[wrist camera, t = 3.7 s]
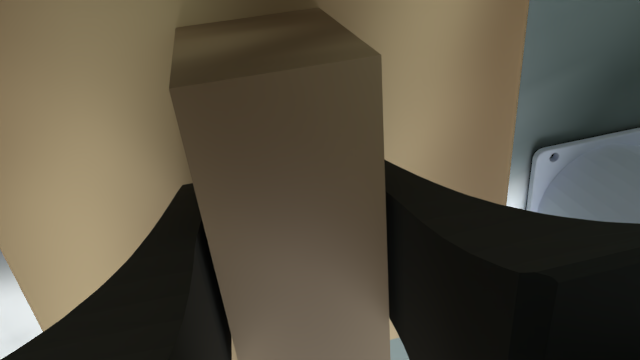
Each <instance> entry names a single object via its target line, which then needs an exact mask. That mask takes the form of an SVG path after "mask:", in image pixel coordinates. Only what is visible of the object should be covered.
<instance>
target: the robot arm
mask: <svg viewBox="0 0 640 360" xmlns="http://www.w3.org/2000/svg"><path fill="white" fill-rule="evenodd" d="M552 154H554V155H553V156H552V158H550V156H551V155H552ZM384 161H385V194H386V227H387V260H388V293H389V318H390V320H391V322H392V324H393V326H394V327H395V329H396V331H397V333H398V335H399V337H400V339H401V341H402V343H403V345H404V348H405V350H406V352H407V355H408V357H409V360H640V128H635V129H630V130H626V131H621V132H616V133H611V134H606V135H602V136H597V137H592V138H587V139H582V140H578V141H573V142H568V143H563V144H558V145H554V146H549V147H544V148H541V149H539V150H537V151H536V152H535V154H534V156H533V160H532V168H531V176H530V184H529V193H528V201H527V209H526V210H523V209H518V208H513V207H509V206H504V205H500V204H496V203H493V202H489V201H486V200H483V199H479V198H476V197H472V196H469V195H466V194H463V193H460V192H457V191H455V190H452V189H450V188H447V187H444V186H442V185H439V184H437V183H434V182H432V181H429V180H427V179H425V178H422V177H420V176H418V175H416V174H414V173H411V172H409V171H407V170H405V169H403V168H401V167H399V166H397V165H395V164H393V163H391V162H388V161H386V160H384ZM1 360H232V336H231V332H230V328H229V324H228V320H227V316H226V312H225V308H224V304H223V300H222V296H221V292H220V288H219V284H218V281H217V277H216V273H215V269H214V265H213V261H212V257H211V253H210V249H209V245H208V241H207V237H206V233H205V229H204V225H203V221H202V218H201V214H200V210H199V206H198V202H197V198H196V194H195V190H194V186H193V183H190V184H185V185H182V186H181V187H180V189H179V190H178V192H177V193H176V195H175V196H174V198H173V199H172V201H171V203H170V204H169V206H168V207H167V209H166V210H165V212H164V213H163V215H162V216H161V218H160V219H159V221H158V222H157V223H156V225H155V226H154V228H153V229H152V230H151V232H150V233H149V235H148V236H147V237H146V238H145V240H144V241H143V242H142V243H141V245H140V246H139V247H138V248H137V249H136V251H135V252H134V253H133V254H132V256H131V257H130V258H129V259H128V260H127V261H126V262H125V263H124V264H123V265H122V266H121V267H120V268H119V269H118V270H117V271H116V272H115V273H114V274H113V275H112V276H111V277H110V278H109V279H108V280H107V281H106V282H105V283H104V284H103V285H102V286H101V287H100V288H99V289H97V290H96V291H95V292H94V293H93V294H91V295H90V296H89V297H88V298H87V299H85V300H84V301H83V302H82V303H80V304H79V305H78V306H77V307H76V308H74V309H73V310H72V311H71V312H69V313H68V314H67V315H66V316H65V317H63V318H62V319H61V320H59V321H58V322H56V323H55V324H54V325H52V326H51V327H49V328H48V329H47V330H45V331H44V332H43V333H41V334H40V335H38V336H37V337H35V338H34V339H32V340H31V341H29V342H28V343H26V344H25V345H23V346H22V347H20V348H19V349H17V350H16V351H14V352H12V353H11V354H9V355H8V356H6V357H4V358H3V359H1Z"/></svg>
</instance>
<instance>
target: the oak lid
mask: <svg viewBox="0 0 640 360" xmlns="http://www.w3.org/2000/svg"><path fill="white" fill-rule="evenodd" d="M528 7H529V0H0V249H1V251H2V253H3V255H4V257H5V259H6V261H7V263H8V265H9V267H10V269H11V271H12V273H13V275H14V276H15V278H16V280H17V282H18V284H19V286H20V288H21V290H22V292H23V294H24V296H25V298H26V300H27V302H28V304H29V305H30V307H31V309H32V311H33V313H34V315H35V317H36V319H37V321H38V323H39V325H40V327H41V329H42V331H43V332H44V331H45V330H47V329H48V328H49V327H51V326H52V325H54V324H55V323H56V322H58V321H59V320H61V319H62V318H63V317H65V316H66V315H67V314H68V313H69V312H71V311H72V310H73V309H74V308H76V307H77V306H78V305H79V304H80V303H82V302H83V301H84V300H85V299H87V298H88V297H89V296H90V295H91V294H93V293H94V292H95V291H96V290H97V289H99V288H100V287H101V286H102V285H103V284H104V283H105V282H106V281H107V280H108V279H109V278H110V277H111V276H112V275H113V274H114V273H115V272H116V271H117V270H118V269H119V268H120V267H121V266H122V265H123V264H124V263H125V262H126V261H127V260H128V259H129V258H130V257H131V256H132V254H133V253H134V252H135V251H136V249H137V248H138V247H139V246H140V245H141V243H142V242H143V241H144V240H145V238H146V237H147V236H148V235H149V233H150V232H151V230H152V229H153V228H154V226H155V225H156V223H157V222H158V221H159V219H160V218H161V216H162V215H163V213H164V212H165V210H166V209H167V207H168V206H169V204H170V203H171V201H172V199H173V198H174V196H175V195H176V193H177V192H178V190H179V189H180V187H181V186H182V185H185V184H190V183H193V186H194V190H195V194H196V198H197V202H198V206H199V210H200V214H201V218H202V221H203V225H204V229H205V233H206V237H207V241H208V245H209V249H210V253H211V257H212V261H213V265H214V269H215V273H216V277H217V281H218V284H219V288H220V292H221V296H222V300H223V304H224V308H225V312H226V316H227V320H228V324H229V328H230V332H231V336H232V360H391V358H390V340H392V339H396V338H400V337H399V335H398V333H397V331H396V329H395V327H394V326H393V324H392V322H391V320H390V318H389V293H388V260H387V227H386V194H385V161H384V160H386V161H388V162H391V163H393V164H395V165H397V166H399V167H401V168H403V169H405V170H407V171H409V172H411V173H414V174H416V175H418V176H420V177H422V178H425V179H427V180H429V181H432V182H434V183H437V184H439V185H442V186H444V187H447V188H450V189H452V190H455V191H457V192H460V193H463V194H466V195H469V196H472V197H476V198H479V199H483V200H486V201H489V202H493V203H496V204H500V205H504V206H506V202H507V193H508V184H509V175H510V167H511V158H512V149H513V140H514V131H515V122H516V114H517V105H518V96H519V87H520V78H521V69H522V60H523V52H524V43H525V34H526V25H527V16H528Z"/></svg>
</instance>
